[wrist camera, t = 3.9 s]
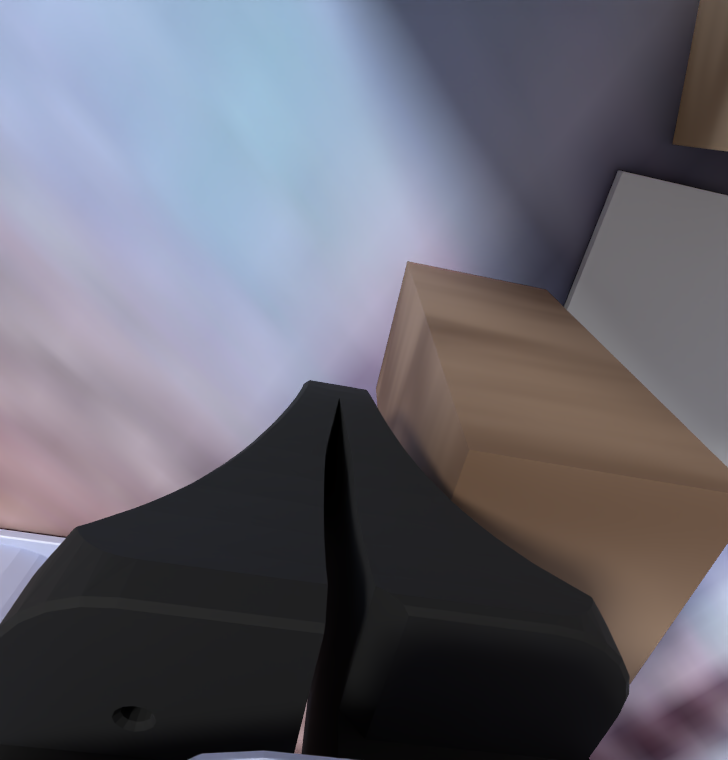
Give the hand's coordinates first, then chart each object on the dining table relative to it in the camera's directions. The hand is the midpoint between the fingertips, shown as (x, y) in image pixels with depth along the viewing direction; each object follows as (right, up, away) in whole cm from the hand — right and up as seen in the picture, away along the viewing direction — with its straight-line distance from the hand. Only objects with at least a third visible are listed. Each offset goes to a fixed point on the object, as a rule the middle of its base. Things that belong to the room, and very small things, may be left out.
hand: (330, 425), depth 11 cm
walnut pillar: (+4, +2, +6) cm, 8 cm away
